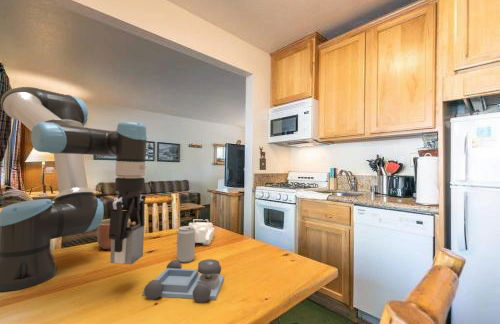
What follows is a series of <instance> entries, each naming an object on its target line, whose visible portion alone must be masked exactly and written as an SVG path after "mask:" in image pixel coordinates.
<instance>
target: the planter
mask: <svg viewBox="0 0 500 324" xmlns="http://www.w3.org/2000/svg"><path fill="white" fill-rule="evenodd" d="M128 223H130V218H128ZM109 228H110V218H108V219H107V218H106V219H102V221H101V223H100V225H99V226H98V227H97V228H96V229H97V230H96V231H97V233H96V234H97V238H96V240H97V244H98V246H99V247H100V248H102V249H103V250H106V251H107V250H110V251H111V239H109Z"/></svg>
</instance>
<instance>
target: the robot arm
mask: <svg viewBox="0 0 500 324" xmlns="http://www.w3.org/2000/svg"><path fill="white" fill-rule="evenodd" d="M0 106H1V108H2V111H4V113H5V114H7V116H8V117H10V118H12V119H13V120H15V121H19V122H20V123H22V125H24V126H25V127H26V128H27V129H29V131H30V132H31V134H30V141H31V143H32V144H31V145H32V148H33V149H34V150H35V151H37V152H40V153H49V154H53V159H54V166H55V174H56V180H57V181H56V182H57V188H58V194H57V195H56V196H55V197H54V198H53V200H54V201H52V200H51V199H50V198H40V199H32V200H26V201H19V202H15V203H12V204H9V205H6V206H4V207H3V208H1V210H0V292H8V291H15V290H22V289H26V288H28V287H33V286H35V285H38V284H41V283H43V282H46V281H48V280H49V279H52V278H54V277H55V275H56V274H57V271H58V268H57V267H58V266H57V262H55V258H54V255H53V253H52V251H51V241H52V240H53V239H58V238H62V237H63V238H64V237H67V236H71V235H72V236H74V235H78V234H84V233H87V232H90V231H94V230H96V229H97V227H98V226H99V225H100V223H101V221H102V220H103V219H104V211H105V207H104V203H103V201H102V199H101V198H99V197H95V193H94V191H92V190H90V189H89V186H88V179H87V173H86V167H85V162H84V161H85V160H84V155H88V156H89V155H91V156H102V157H103V156H104V157H106V156H108V157H111V156H112V157H113V156H114V157H115V172H114V173H115V176H116V177H115V181H114V190H115V191H116V192H118V196H117V199H116V200H115V201H113V200H112V201H110V202H109V207H110V216H109V217H110V218H109V219H110V228H109V239H114V240H115V249H114V251H115V257H114V263H113V264H116V263H121V264H120V265H125V264H124V263H125V261H126V239H124V237H125V232H126V227H127V223H128V219H130V222H131V221H135V223H138V224H140V226H144V227H145V224H146V223H145V220H146V219H145V211H146V210H145V207H146V206H145V203H146V195H145V194H144V195H143V194H141V192H143V191H145V182H146V181H145V177H144V176H145V173H146V172H145V171H146V168H147V166H146V154H147V140H148V137H147V127H146V125H145V124H143V123H140V122H133V121H120V122H118V124H117V126H116V127H117V128H116V130H106V129H100V128H99V129H97V128H90V127H86V126H85V125H86V124H87V121H88V119H89V118H88V116H89V111H88V110H89V109H88V107H87V104H86V103H85V102H84V100H83V99H81V98H79V97H76V96H73V95H70V94H64V93H59V92H55V91H50V90H46V89H42V88H39V87H32V86H22V87H21V86H20V87H19V86H18V87H14V88H11V89H9V90H7V91H6V92H4V93H3V94H2V96H1V98H0Z"/></svg>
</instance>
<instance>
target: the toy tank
mask: <svg viewBox="0 0 500 324" xmlns="http://www.w3.org/2000/svg"><path fill="white" fill-rule="evenodd" d="M192 221H193V222H189V223H188V226H192V227H194V230H195V244H198V243H199V244H202V245H203V246H209V245H210V244H211V242H212V241H213V239H214V234H215V233H214V232H216V228H215V227H213V226H214V225H213V222H209V219H206V222H204V221H203V222H202V219H194V218H193V219H192ZM195 221H196V222H195ZM211 240H212V241H211Z"/></svg>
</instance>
